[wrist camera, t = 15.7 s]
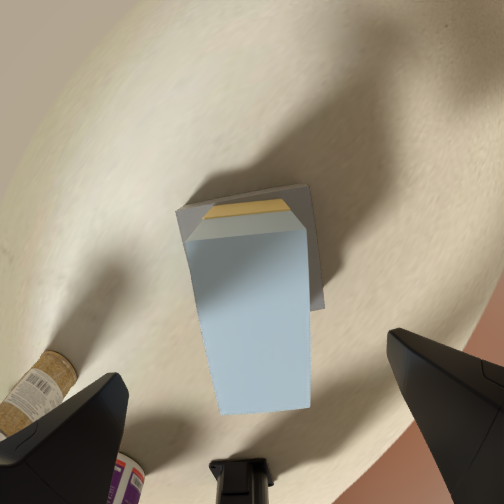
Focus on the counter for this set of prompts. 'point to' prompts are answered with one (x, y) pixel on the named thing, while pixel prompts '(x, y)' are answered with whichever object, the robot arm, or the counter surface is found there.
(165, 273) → the counter surface
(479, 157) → the counter surface
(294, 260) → the blue brick
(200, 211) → the base slab
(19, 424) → the sprinkles bottle
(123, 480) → the pill bottle
